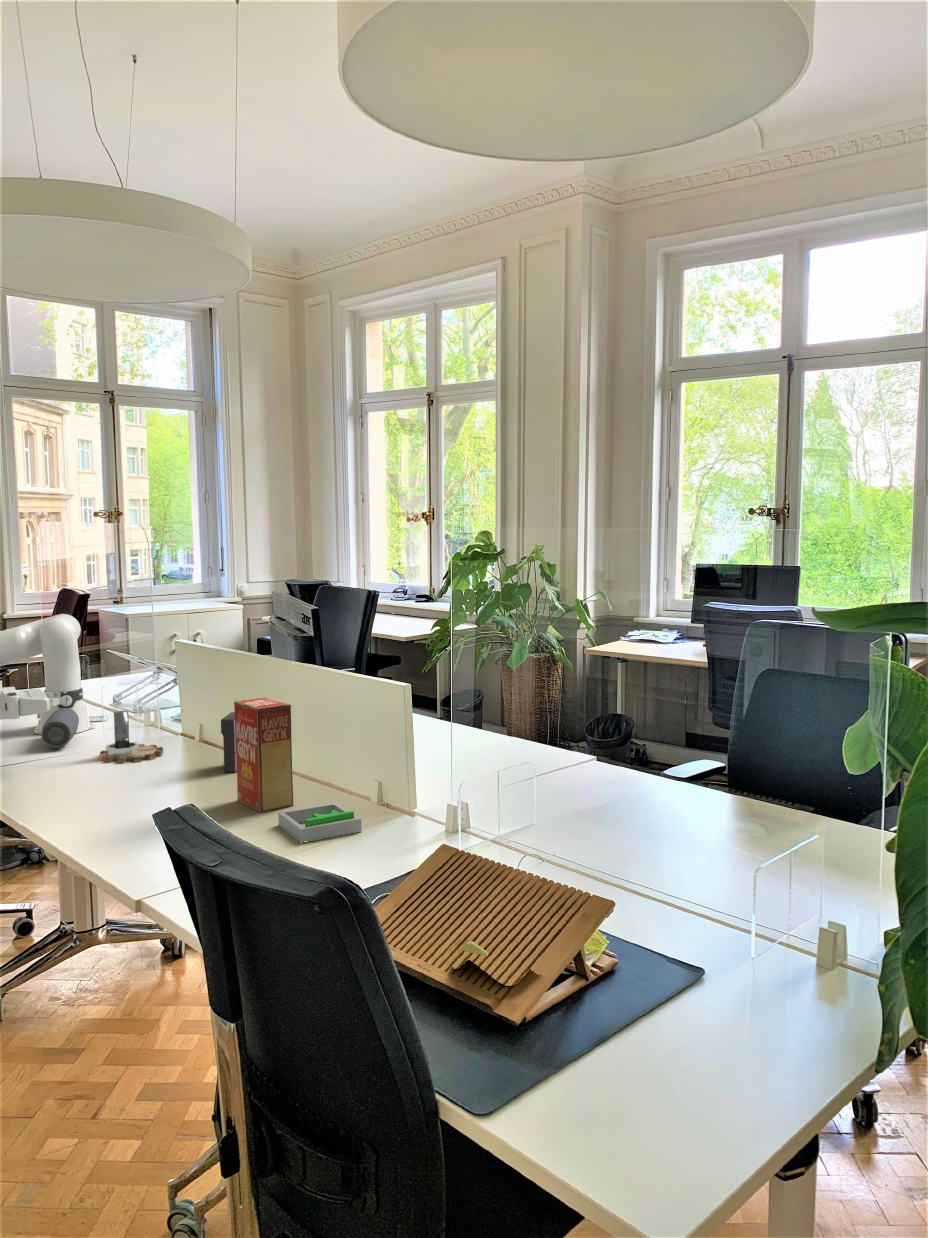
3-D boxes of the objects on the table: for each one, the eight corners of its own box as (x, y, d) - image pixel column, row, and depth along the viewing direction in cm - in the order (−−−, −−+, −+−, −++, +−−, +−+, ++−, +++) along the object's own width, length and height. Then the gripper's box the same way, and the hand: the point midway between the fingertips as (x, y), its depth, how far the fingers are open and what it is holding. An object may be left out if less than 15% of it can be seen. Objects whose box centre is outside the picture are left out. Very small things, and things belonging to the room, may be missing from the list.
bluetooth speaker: (50, 737, 291) (48, 707, 291) (81, 735, 294) (79, 705, 293) (39, 753, 270) (38, 720, 269) (73, 750, 273) (71, 718, 272)
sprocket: (94, 753, 269) (94, 742, 269) (155, 746, 278) (155, 735, 278) (105, 766, 254) (104, 754, 254) (169, 758, 263) (169, 746, 263)
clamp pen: (278, 825, 202) (278, 812, 201) (336, 815, 209) (336, 802, 209) (301, 843, 190) (301, 829, 189) (361, 832, 197) (361, 818, 197)
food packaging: (234, 800, 220) (232, 700, 218) (269, 793, 227) (267, 696, 224) (260, 813, 210) (257, 708, 208) (295, 805, 216) (293, 703, 214)
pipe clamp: (346, 827, 201) (346, 807, 200) (354, 832, 198) (354, 811, 197) (300, 836, 195) (300, 815, 194) (307, 841, 192) (307, 820, 191)
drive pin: (114, 751, 265) (112, 711, 264) (128, 749, 267) (126, 710, 266) (116, 754, 262) (115, 713, 261) (130, 752, 264) (129, 712, 263)
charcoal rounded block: (237, 773, 246) (236, 719, 245) (221, 773, 247) (220, 719, 245) (247, 763, 257) (246, 711, 256) (232, 763, 257) (231, 711, 256)
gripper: (6, 708, 257) (58, 702, 264) (13, 720, 240) (69, 714, 247) (4, 686, 256) (57, 681, 263) (11, 697, 239) (67, 692, 246)
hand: (63, 697), depth 255 cm, fingers open, 8 cm apart
